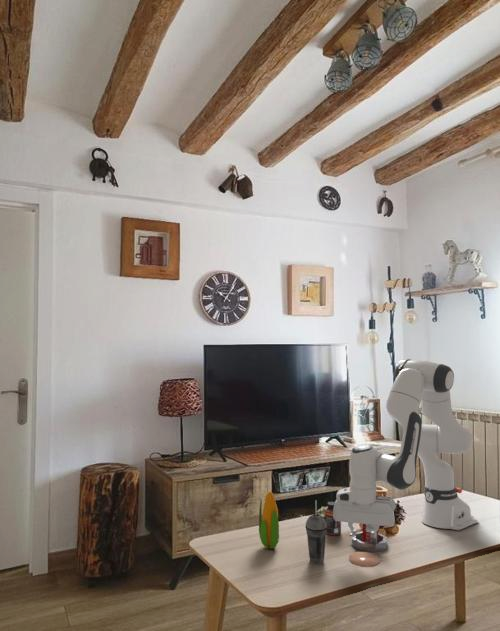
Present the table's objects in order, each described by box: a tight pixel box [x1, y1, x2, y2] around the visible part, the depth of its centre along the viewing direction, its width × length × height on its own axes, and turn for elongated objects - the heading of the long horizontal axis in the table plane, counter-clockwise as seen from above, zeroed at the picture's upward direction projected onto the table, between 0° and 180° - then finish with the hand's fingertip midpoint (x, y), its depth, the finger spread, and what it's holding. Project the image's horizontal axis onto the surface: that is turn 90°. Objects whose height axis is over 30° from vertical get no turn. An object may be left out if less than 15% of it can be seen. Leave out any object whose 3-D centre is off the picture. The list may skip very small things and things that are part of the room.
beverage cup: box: [305, 499, 327, 566], centre depth 169 cm, size 7×7×20 cm
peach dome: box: [348, 551, 380, 567], centre depth 170 cm, size 10×10×1 cm
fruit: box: [317, 505, 328, 519], centre depth 203 cm, size 9×9×8 cm
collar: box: [349, 530, 388, 553], centre depth 183 cm, size 13×12×3 cm
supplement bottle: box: [325, 501, 342, 536], centre depth 194 cm, size 6×6×11 cm
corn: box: [258, 491, 280, 550], centre depth 180 cm, size 7×8×20 cm
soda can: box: [362, 524, 379, 543], centre depth 183 cm, size 6×6×12 cm
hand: (363, 536), depth 170 cm, fingers open, 5 cm apart
